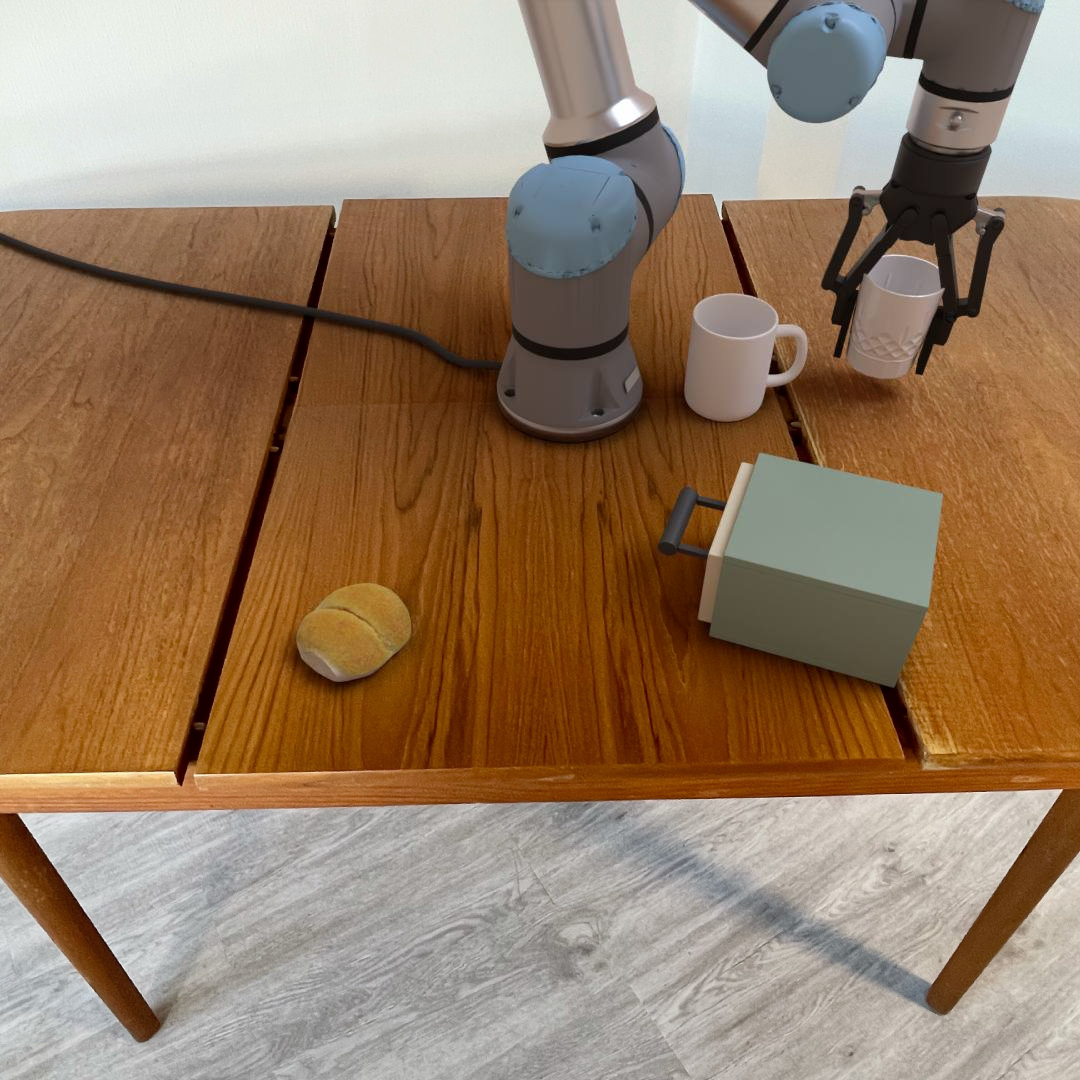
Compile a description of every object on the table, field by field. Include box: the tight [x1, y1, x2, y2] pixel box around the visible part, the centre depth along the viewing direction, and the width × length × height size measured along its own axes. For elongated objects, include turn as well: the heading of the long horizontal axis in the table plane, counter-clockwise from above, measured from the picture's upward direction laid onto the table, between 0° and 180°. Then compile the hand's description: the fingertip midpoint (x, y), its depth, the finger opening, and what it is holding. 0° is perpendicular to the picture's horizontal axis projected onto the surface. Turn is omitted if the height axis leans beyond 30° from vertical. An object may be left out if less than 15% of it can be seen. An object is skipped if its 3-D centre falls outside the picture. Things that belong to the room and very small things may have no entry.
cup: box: [683, 292, 809, 423], centre depth 94 cm, size 8×12×10 cm
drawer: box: [657, 461, 755, 624], centre depth 75 cm, size 18×11×8 cm, turn 69°
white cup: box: [845, 254, 945, 380], centre depth 93 cm, size 8×8×10 cm
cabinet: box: [708, 452, 944, 688], centre depth 74 cm, size 15×13×10 cm
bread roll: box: [296, 582, 412, 683], centre depth 74 cm, size 8×9×4 cm
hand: (878, 358), depth 96 cm, fingers closed on white cup, 8 cm apart
